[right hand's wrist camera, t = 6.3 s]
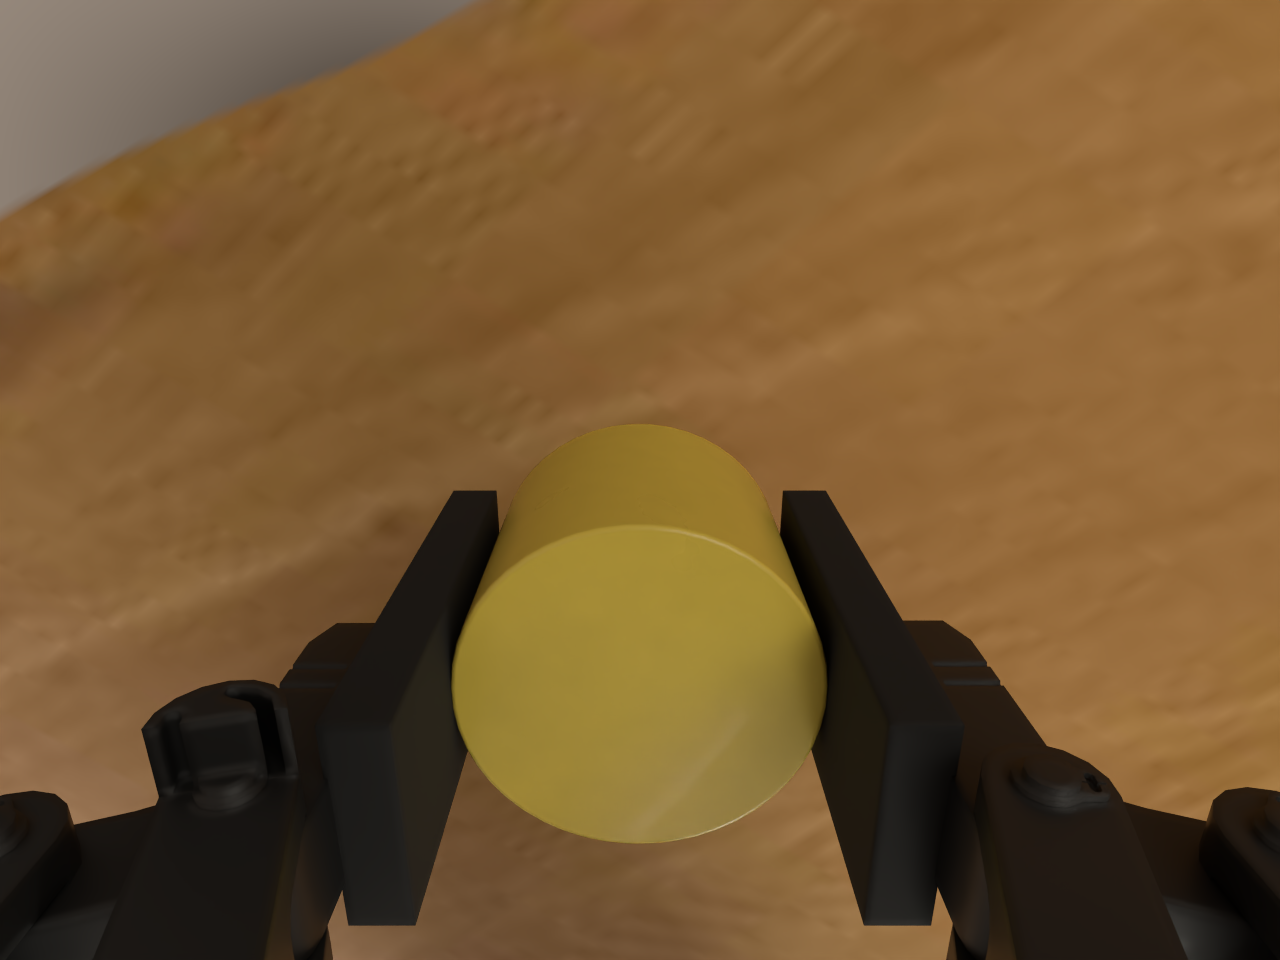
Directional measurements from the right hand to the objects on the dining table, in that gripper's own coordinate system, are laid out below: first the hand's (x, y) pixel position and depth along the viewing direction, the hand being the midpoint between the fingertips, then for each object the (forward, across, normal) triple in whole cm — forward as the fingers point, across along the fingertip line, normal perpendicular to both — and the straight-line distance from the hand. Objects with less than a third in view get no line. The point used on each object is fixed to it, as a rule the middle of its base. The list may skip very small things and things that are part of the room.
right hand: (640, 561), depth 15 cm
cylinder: (0, 0, 0) cm, 0 cm away
